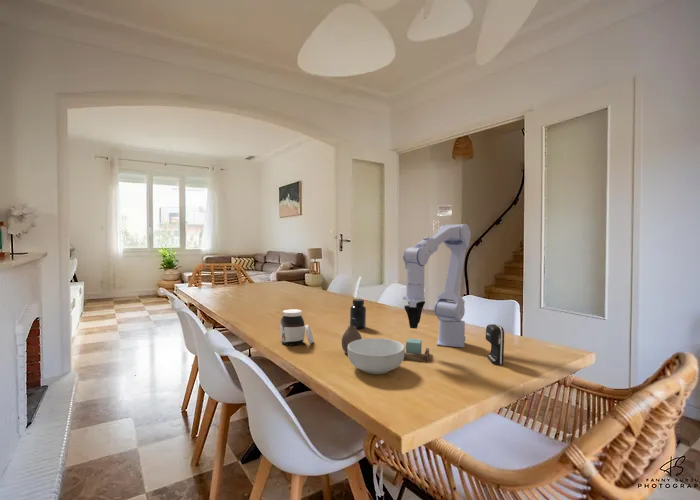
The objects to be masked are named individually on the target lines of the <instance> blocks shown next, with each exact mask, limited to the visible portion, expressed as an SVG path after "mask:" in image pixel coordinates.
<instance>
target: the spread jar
mask: <svg viewBox="0 0 700 500" xmlns="http://www.w3.org/2000/svg"><path fill="white" fill-rule="evenodd" d="M302 314H303V311H302V310H301V309H296V308H294V309H293V308H292V309H284V310H283V311H282V317H281V318H280V323H279V327H280V328H279V329H280V331H279V334H280V336H279V337H280V341H281V343H282V344H283V345H285V346H298V345H301V344H302V343H304V341H305V334H306V338H307V341H308V343H309V344H314V343H315V342H314V341H315V340H314V335H313V332H312V329H311V327H310V325H309V324H305V320H304V318H303V316H302Z"/></svg>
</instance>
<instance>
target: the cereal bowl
mask: <svg viewBox="0 0 700 500" xmlns="http://www.w3.org/2000/svg"><path fill="white" fill-rule="evenodd" d="M347 348H348V349H347V351H348V354H347V356H348V360H349V362H350V363H351V364H352V365H353V366H354V367H356V368H357V369H359V370H361V371H363V372H365V373H367V374H371V375H383V374H387V373H389V371H392V370H395V369H396V368H398V367H399V366H400V365H401V364H402V363H403V361H404V360H405V359H404V353H406V347H405V345H404V344H403V343H402V342H400V341H397V340H394V339H389V338H381V337H374V338H373V337H371V338H362V339H360V340H356V341H353V342H351V343H349V344H348V347H347Z"/></svg>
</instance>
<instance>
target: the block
mask: <svg viewBox="0 0 700 500" xmlns="http://www.w3.org/2000/svg"><path fill="white" fill-rule="evenodd" d="M422 341H423V340H422V339H417V338H407V340H406V342H405V353H414V354H422V347H423V346H422V344H423V343H422Z"/></svg>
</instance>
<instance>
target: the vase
mask: <svg viewBox="0 0 700 500" xmlns="http://www.w3.org/2000/svg"><path fill="white" fill-rule="evenodd" d="M360 339H363V337H362V335H361V333H360V332H359V329H356V327H355V326H350V325H349V326H348V327H347V329H346V331H345V332H344V333H343V334H342V337H341V347H342V350H343V352H345V354H347V355H348V351H347V349H348V348H347V347H348V344H349V343H351V342H353V341H356V340H360Z"/></svg>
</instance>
